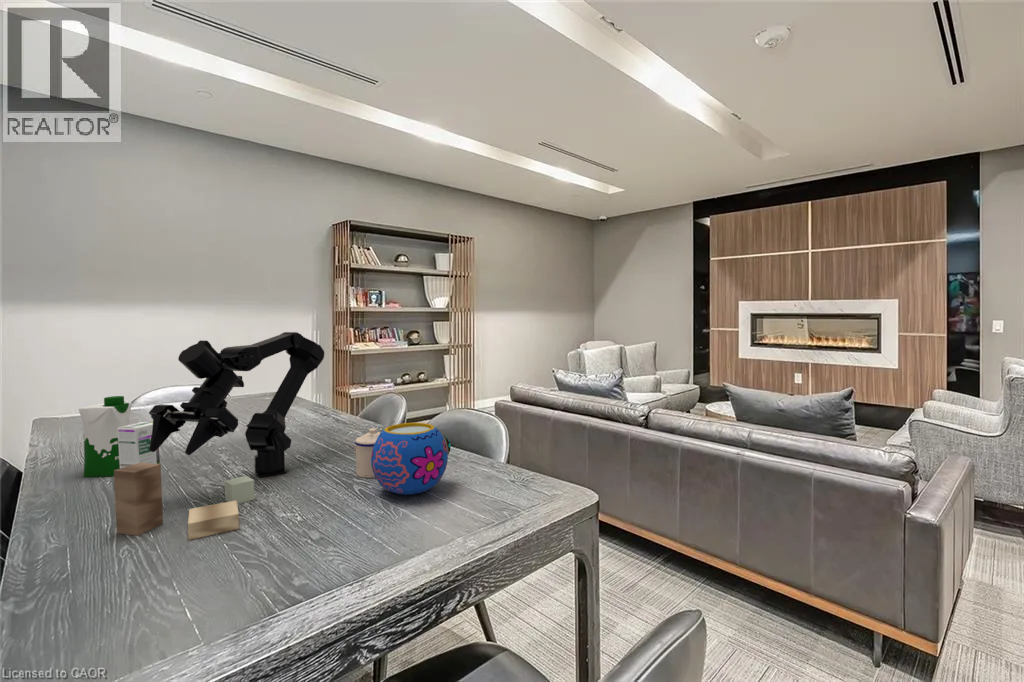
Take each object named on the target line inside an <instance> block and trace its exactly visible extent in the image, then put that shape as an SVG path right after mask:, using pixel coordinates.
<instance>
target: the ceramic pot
mask: <svg viewBox="0 0 1024 682" xmlns="http://www.w3.org/2000/svg"><path fill="white" fill-rule="evenodd" d="M451 447H452V446H451V441H450V439H449V438H448V437H447V436H445V435H443V434H442V433H441V431H440V430H439V429H438V428H437V427H436V426H434V425H432V424H429V423H425V422H404V423H399V424H398V423H396V424H393V425H390V426H387V427H385V428H384V429H383V430H382V431H381V432H380V435H379V436H378V438H377V440H376V442H375V444H374V447H373V451H372V457H371V465H372V469H373V473H374V475H375V478H376V481H377V482H378V484H379V485H380V486H381V487H382V488H383V489H385V490H386V491H388V492H391V493H394V494H398V495H403V496H404V495H407V496H409V495H417V494H421V493H424V492H425V491H427V490H430V489H432V488H433V487H435V486H436V485H437V484H438V483H439V482H440V481H441V479H442V477H444V476H443V475H444V474H445V473H446V469H447V465H448V459H449V454H450V452H451Z"/></svg>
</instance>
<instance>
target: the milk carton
mask: <svg viewBox="0 0 1024 682" xmlns="http://www.w3.org/2000/svg"><path fill="white" fill-rule="evenodd" d="M132 404H133V403H132V402H125V396H124V395H116V396H106V397H104V398H103V402H102V403H96V404H93V405H87V406H83V407H80V408H79V407H78V413H79V415H80V419H81V421H82V428H83V429H82V430H83V431H82V433H83V451H84V452H83V453H84V459H83V478H94V477H95V478H97V477H98V478H99V477H102V478H103V477H114V470H117V469H120V463H119V447H118V430H117V428H118V427H123V426H127V425H130V415H131V410H132Z"/></svg>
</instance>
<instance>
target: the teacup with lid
mask: <svg viewBox="0 0 1024 682" xmlns="http://www.w3.org/2000/svg"><path fill="white" fill-rule="evenodd" d="M380 433H381V432H380V431H378V430H377V428H376V427H375V428H373V427H372V428H369V430H368V432H366V433H364V434H362V436H359V437H357V438H356V439H355V441H354V444H355V445H354V454H355V460H356V461H355V465H356V466H355V467H356V469H355V470H356V475H357V476H358V477H361V478H364V479H365V478H366V479H371V478H372V479H373V478H376V477H375V475H374V473H373V469H372V465H371V457H372V451H373V447H374V444H375V442H376V440H377V438H378V436H379V435H380Z"/></svg>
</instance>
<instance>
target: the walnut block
mask: <svg viewBox="0 0 1024 682" xmlns="http://www.w3.org/2000/svg"><path fill="white" fill-rule="evenodd" d="M113 480H114V481H113V482H114V504H115V505H114V507H115V521H116V522H115V525H116V526H115V528H116V529H115V530H116V534H121V535H122V534H123V535H130V536H140V535H142V534H144V533H146V532H149V531H151V530H153V529H156V528H157V527H160V526H162V525H164V517H163V514H164V513H163V492H162V491H163V490H162V468H161V463H160V464H152V463H137V464H134V465H131V466H127V467H124V468H120V469H117V470H114V476H113Z"/></svg>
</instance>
